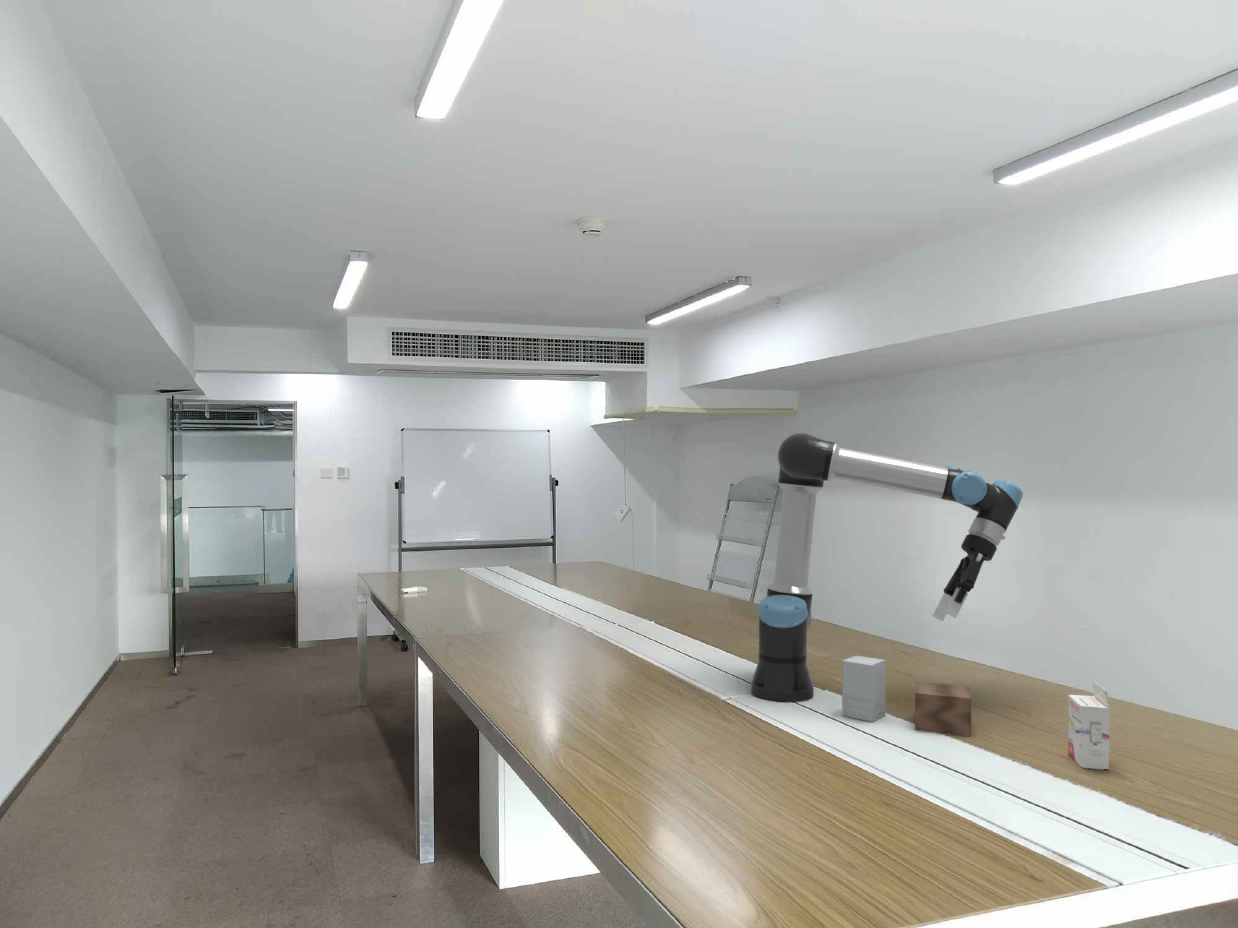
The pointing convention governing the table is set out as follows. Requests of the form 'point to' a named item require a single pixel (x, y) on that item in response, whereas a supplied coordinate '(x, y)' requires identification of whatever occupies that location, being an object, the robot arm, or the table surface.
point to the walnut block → (943, 708)
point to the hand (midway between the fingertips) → (943, 616)
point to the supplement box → (864, 688)
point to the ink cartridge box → (1089, 729)
